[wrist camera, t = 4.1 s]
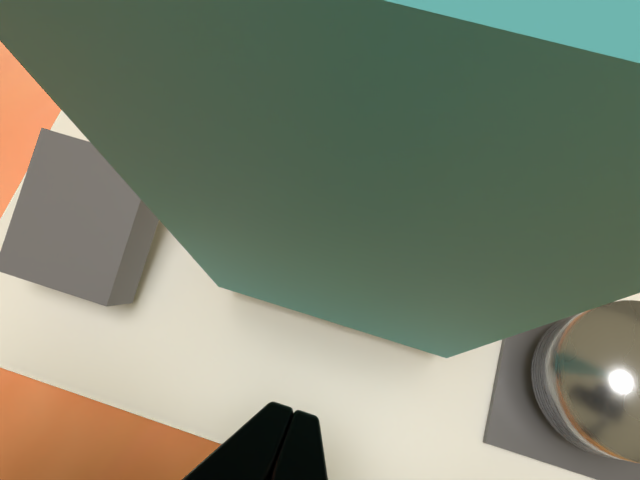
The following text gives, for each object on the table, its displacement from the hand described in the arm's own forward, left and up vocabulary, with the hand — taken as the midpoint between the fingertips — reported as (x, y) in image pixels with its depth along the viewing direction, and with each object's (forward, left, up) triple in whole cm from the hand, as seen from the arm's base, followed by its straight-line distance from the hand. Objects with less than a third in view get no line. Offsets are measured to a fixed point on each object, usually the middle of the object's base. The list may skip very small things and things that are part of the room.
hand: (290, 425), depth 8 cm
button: (+8, -2, -6) cm, 11 cm away
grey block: (-5, +7, -5) cm, 10 cm away
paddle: (+2, +3, -6) cm, 7 cm away
